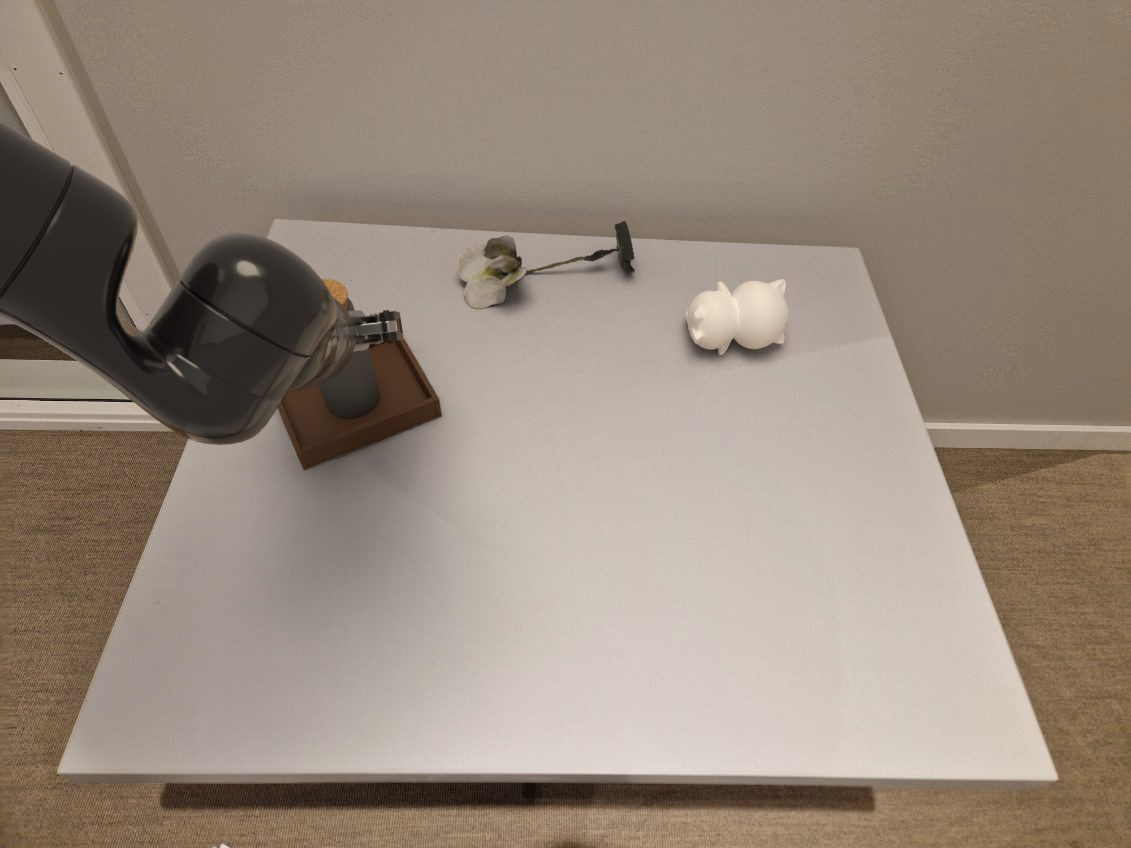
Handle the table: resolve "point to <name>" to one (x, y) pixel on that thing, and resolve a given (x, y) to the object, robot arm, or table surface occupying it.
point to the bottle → (350, 374)
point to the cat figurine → (739, 316)
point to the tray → (396, 411)
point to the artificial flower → (516, 266)
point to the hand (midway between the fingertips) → (327, 335)
